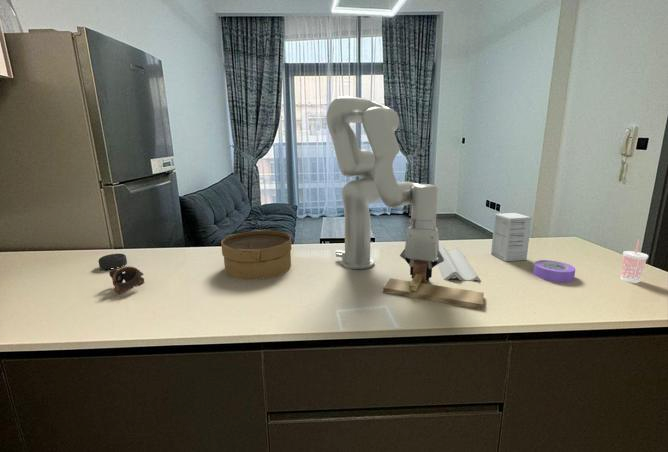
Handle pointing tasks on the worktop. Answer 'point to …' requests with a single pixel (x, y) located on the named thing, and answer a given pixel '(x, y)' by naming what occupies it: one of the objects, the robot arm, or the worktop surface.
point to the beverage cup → (633, 265)
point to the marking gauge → (418, 274)
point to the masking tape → (554, 271)
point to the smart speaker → (112, 261)
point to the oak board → (436, 293)
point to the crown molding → (455, 266)
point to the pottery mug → (125, 278)
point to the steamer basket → (256, 254)
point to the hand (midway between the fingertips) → (420, 277)
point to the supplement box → (511, 236)
